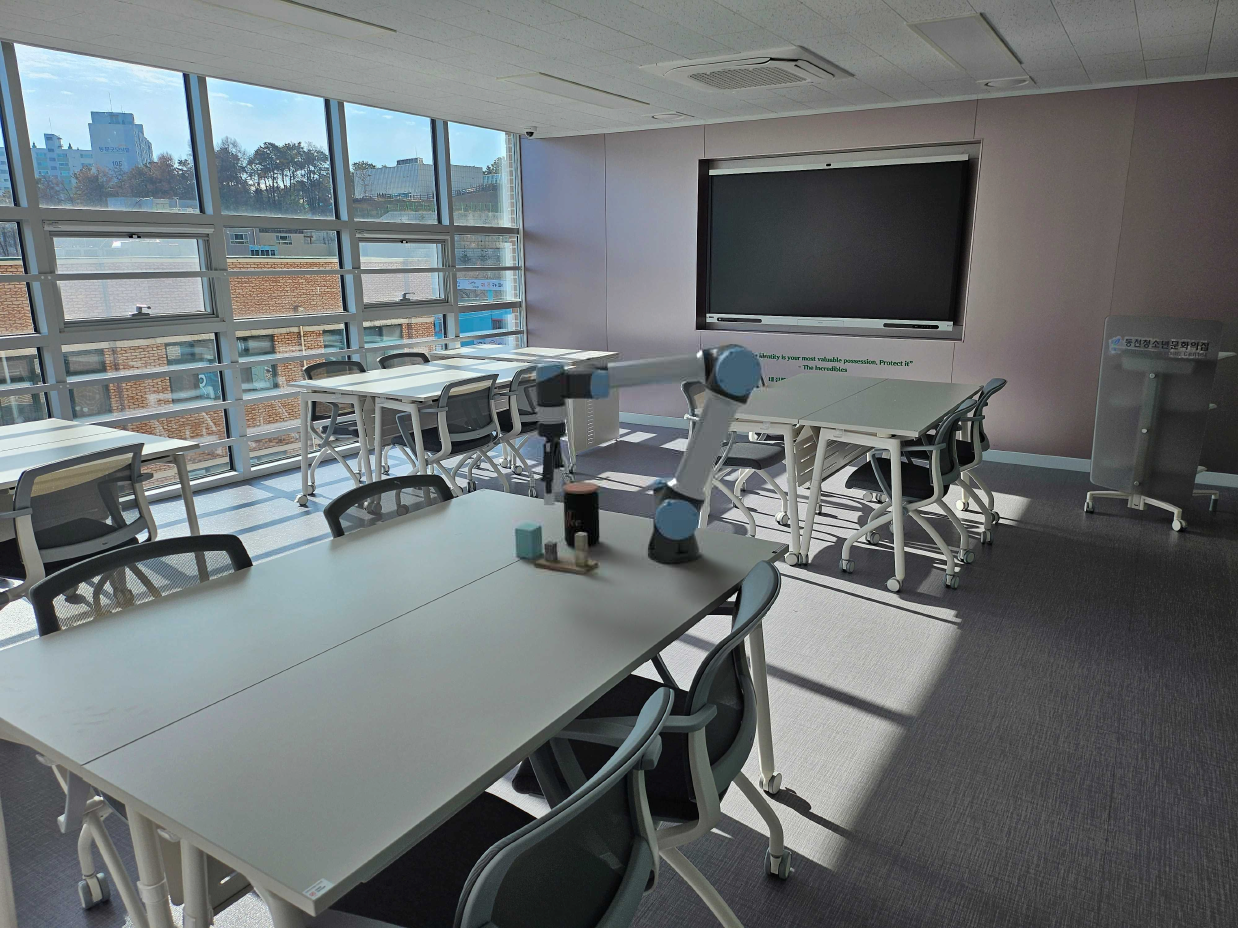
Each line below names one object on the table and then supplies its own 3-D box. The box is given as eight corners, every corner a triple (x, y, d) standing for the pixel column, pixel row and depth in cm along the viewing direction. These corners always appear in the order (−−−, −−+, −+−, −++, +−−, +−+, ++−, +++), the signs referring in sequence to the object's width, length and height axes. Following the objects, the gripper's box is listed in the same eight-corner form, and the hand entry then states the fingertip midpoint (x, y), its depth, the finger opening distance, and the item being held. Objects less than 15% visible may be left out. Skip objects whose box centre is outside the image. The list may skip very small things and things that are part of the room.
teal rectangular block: (526, 550, 250) (525, 523, 248) (542, 552, 248) (541, 525, 246) (516, 556, 245) (515, 528, 243) (532, 558, 243) (531, 530, 241)
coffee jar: (559, 540, 259) (558, 484, 255) (591, 535, 263) (590, 480, 259) (572, 550, 250) (570, 492, 246) (605, 545, 254) (603, 488, 250)
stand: (549, 557, 243) (548, 524, 241) (597, 565, 236) (597, 531, 234) (535, 566, 237) (533, 532, 234) (584, 574, 229) (583, 539, 227)
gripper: (545, 413, 234) (547, 486, 239) (529, 429, 210) (531, 510, 215) (571, 413, 234) (573, 486, 239) (558, 430, 210) (560, 510, 214)
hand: (553, 498), depth 227 cm, fingers open, 13 cm apart
